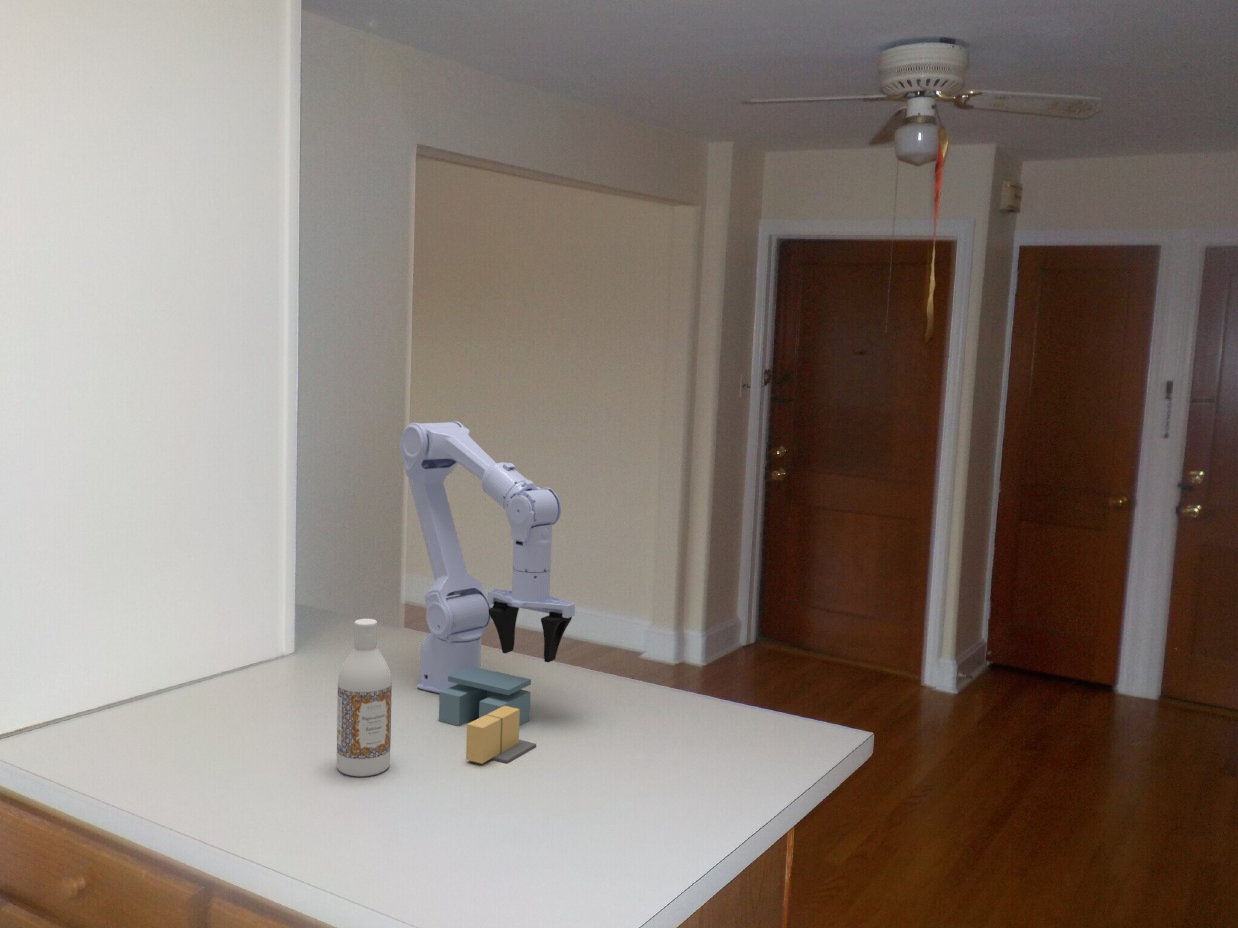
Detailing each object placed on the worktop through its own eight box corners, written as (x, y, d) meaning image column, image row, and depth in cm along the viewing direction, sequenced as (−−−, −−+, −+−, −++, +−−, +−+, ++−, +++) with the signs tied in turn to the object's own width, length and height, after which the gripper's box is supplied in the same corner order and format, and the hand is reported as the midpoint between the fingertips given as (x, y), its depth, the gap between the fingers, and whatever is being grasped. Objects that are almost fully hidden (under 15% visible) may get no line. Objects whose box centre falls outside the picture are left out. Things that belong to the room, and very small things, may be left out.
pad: (471, 753, 151) (471, 750, 151) (501, 737, 158) (501, 734, 158) (506, 763, 149) (507, 760, 148) (536, 746, 155) (536, 743, 155)
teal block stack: (438, 720, 163) (439, 679, 163) (470, 705, 170) (471, 666, 170) (499, 736, 158) (500, 693, 158) (529, 720, 165) (530, 679, 165)
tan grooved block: (465, 759, 148) (466, 723, 148) (503, 739, 156) (504, 705, 156) (482, 763, 147) (483, 728, 146) (518, 743, 155) (520, 709, 154)
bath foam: (347, 781, 140) (349, 630, 138) (329, 762, 146) (331, 617, 144) (398, 771, 144) (400, 624, 142) (378, 753, 150) (381, 612, 148)
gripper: (476, 566, 164) (474, 653, 166) (558, 580, 158) (555, 671, 159) (503, 558, 171) (500, 643, 172) (583, 571, 164) (579, 659, 166)
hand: (528, 655), depth 166 cm, fingers open, 7 cm apart
